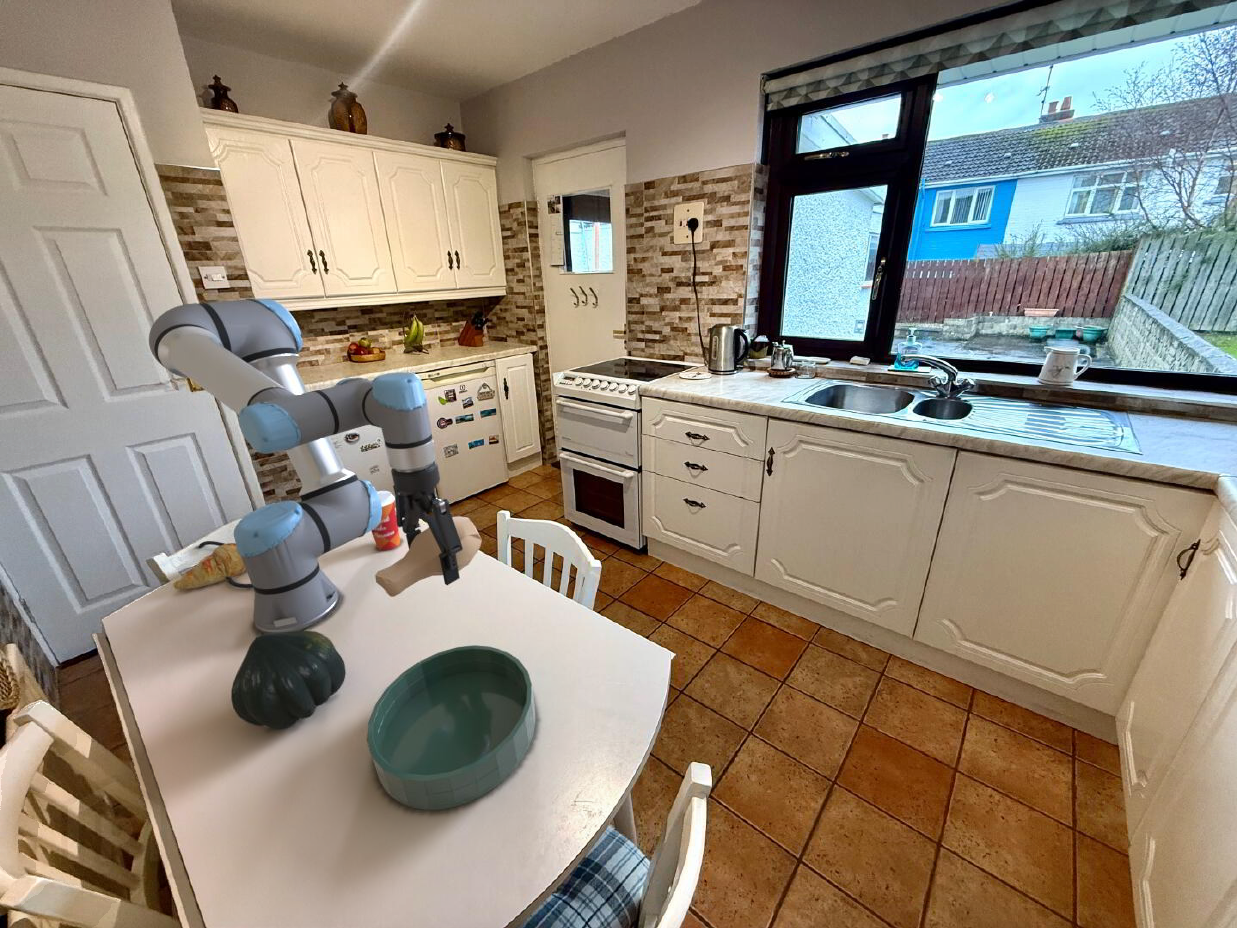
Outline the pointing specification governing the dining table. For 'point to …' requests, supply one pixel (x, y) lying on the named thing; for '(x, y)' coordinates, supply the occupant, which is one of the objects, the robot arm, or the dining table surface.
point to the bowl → (452, 727)
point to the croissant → (213, 568)
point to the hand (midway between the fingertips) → (435, 570)
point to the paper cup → (387, 524)
